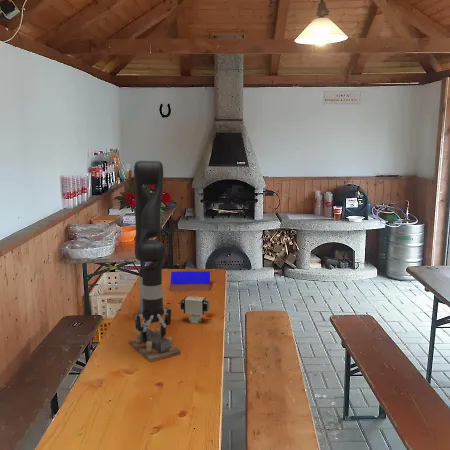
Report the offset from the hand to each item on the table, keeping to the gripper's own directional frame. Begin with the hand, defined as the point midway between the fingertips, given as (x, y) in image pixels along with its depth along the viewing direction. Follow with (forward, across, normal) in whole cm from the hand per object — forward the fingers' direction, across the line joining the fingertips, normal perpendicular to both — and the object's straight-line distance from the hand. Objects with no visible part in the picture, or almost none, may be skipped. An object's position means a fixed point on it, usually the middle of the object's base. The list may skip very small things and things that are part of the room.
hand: (153, 338), depth 179 cm
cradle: (+4, 0, 0) cm, 4 cm away
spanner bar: (+3, 0, 0) cm, 3 cm away
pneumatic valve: (+4, -26, -15) cm, 31 cm away
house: (+4, -45, -54) cm, 71 cm away
